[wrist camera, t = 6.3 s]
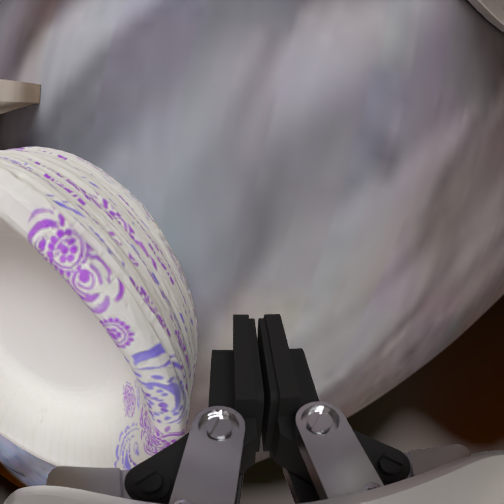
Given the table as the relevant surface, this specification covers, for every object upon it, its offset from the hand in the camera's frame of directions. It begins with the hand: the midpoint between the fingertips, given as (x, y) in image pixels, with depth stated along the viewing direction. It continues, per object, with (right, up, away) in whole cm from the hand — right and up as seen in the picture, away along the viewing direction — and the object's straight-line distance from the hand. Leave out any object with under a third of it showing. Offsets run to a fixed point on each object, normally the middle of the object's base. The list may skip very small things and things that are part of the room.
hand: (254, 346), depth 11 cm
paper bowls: (-10, +2, +4) cm, 11 cm away
